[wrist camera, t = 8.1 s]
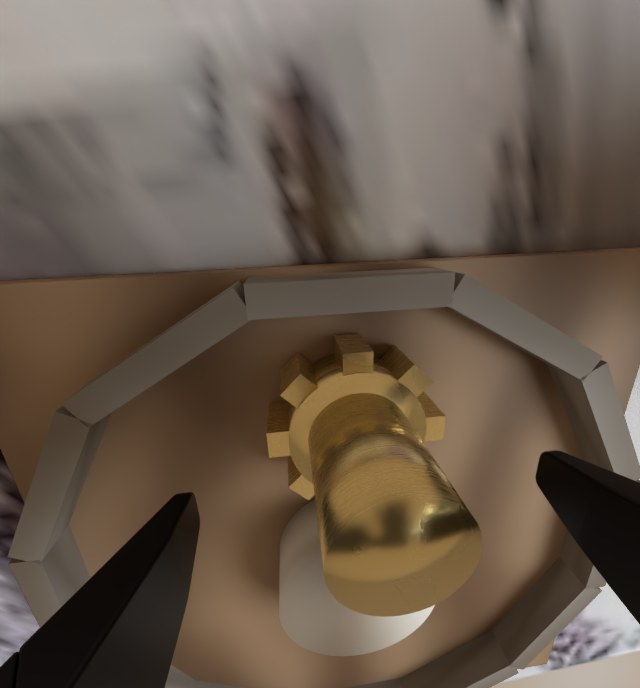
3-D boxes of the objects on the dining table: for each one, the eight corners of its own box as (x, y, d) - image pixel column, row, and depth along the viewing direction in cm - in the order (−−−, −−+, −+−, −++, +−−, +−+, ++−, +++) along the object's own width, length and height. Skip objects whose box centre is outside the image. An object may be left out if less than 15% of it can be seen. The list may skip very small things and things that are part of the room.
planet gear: (426, 327, 11) (570, 423, 6) (416, 460, 13) (517, 632, 7) (262, 339, 11) (239, 457, 5) (276, 475, 13) (271, 673, 7)
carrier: (645, 247, 12) (779, 250, 9) (534, 643, 20) (583, 723, 17) (-38, 283, 10) (-194, 306, 7) (136, 712, 18) (103, 820, 15)
